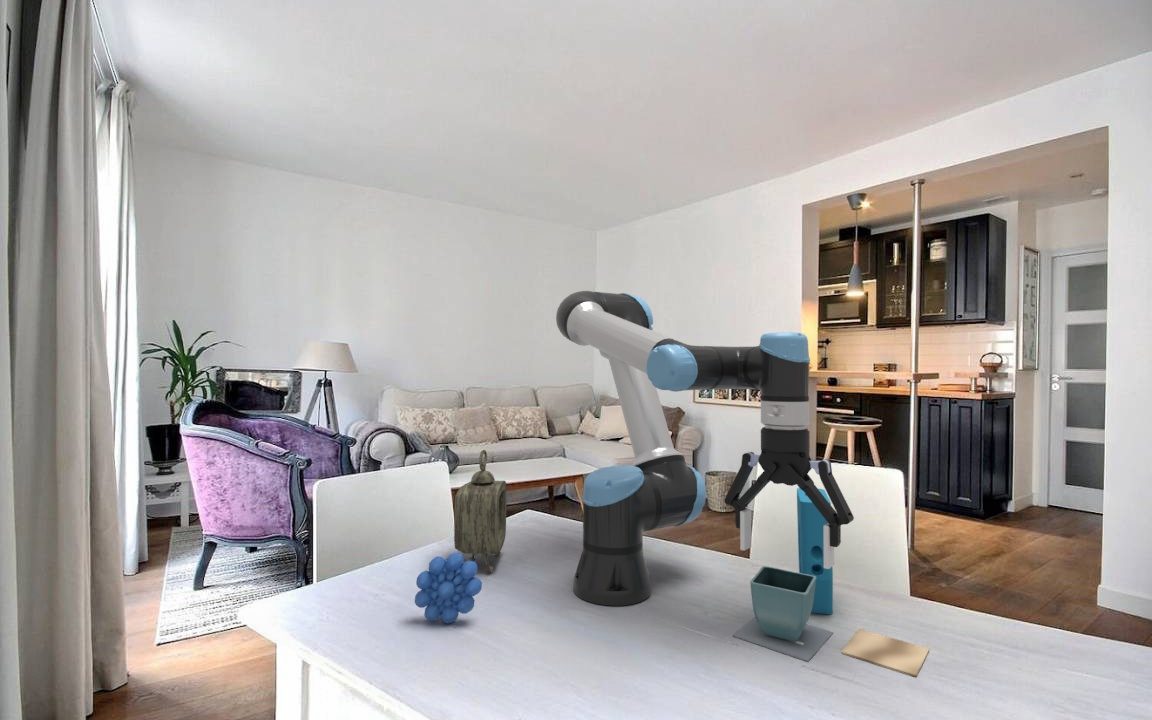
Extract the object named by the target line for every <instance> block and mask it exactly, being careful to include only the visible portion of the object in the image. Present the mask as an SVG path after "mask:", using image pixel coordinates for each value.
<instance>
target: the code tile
mask: <svg viewBox="0 0 1152 720" xmlns="http://www.w3.org/2000/svg"><path fill="white" fill-rule="evenodd" d="M832 635H834V632H833V631H831V630H827V629H825V628H821V627H818V626H814V625H811V624H807V623H806V625H805V627H804V629H803V631H802V634H801V636H800V637H799V639H798V640H797V641H796V642H793V641H789V640H785V639H781V638H778V637H774V636H770V635H766V634H764V632H763V631H762V629H761V628H760V626H759V624H758V622H757V620H756V617H755V616H754V617H753V618H752V619H751V620H750V621H748V622H747V623H746V624H745V625H744V626H742V627H741V628H740V629H738V630H737V631H736V632H735V633H734V634H732V638H733V637H734V638H736V639H738V640H742V641H746V642H748V643H752V644H754V645H758V646H761V647H762V648H764V649H765V648H766V649H768V650H772V651H775V652H778V653H781V654H783V655H787V656H788V657H789V656H790V657H793V658H794V659H799V660H801V661H804V662H807V663H809V662H810V661H811V659H813V657H814V656H815V655H816V654H817V653H818V651H819V650H820V649H821V648H822V647H823V646H824V645H825V643H826V642H827V641H828V640H829V639H830V638H831V636H832Z"/></svg>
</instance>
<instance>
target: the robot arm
mask: <svg viewBox="0 0 1152 720" xmlns="http://www.w3.org/2000/svg"><path fill="white" fill-rule="evenodd" d="M555 319H556V320H555V321H556V326H557V328H558V330H559V332H560V333H561V335H562V336H563V337H565V339H567V340H568V341H571V342H572V343H574V344H577V345H578V346H582V347H583V346H591V347H593V348H595V349H597V350H599V351H598V352H599V355H600V356H601V357H603V358H605V359H607V360H608V363H609V366H610V370H611V373H612V377H613V380H614V381H613V382H614V385H615V388H616V392H617V396H618V401H619V403H620V406H621V411H622V415H623V418H624V422H625V426H626V429H627V433H628V438H629V441H630V444H631V448H632V452H633V456H634V461H633V463H632V465H626V464H625V465H623V464H622V465H618V466H616V465H609V466H605V467H601V468H598V469H595V470H593V471H591V472H590V473H588V474H587V476H586V477H585V479H584V482H583V491H582V496H581V497H582V498H581V499H582V503H583V504H582V507H583V508H582V510H583V511H582V513H583V514H582V535H583V536H582V551H581V555H580V558H579V560H578V561H579V562H578V564H577V567H576V569H575V570H576V571H575V574H574V576H573V591H574V593H575V595H577V596H578V597H579V598H581V599H582V600H584V601H586V602H590V603H593V604H598V605H603V606H616V607H617V606H628V605H629V606H630V605H634V604H638V603H640V602H643V601H645V600H647V599H649V597H651V595H652V578H651V577H652V576H651V575H650V573H649V569H648V565H647V561H646V558H645V556H644V555H645V554H644V550H643V546H644V544H643V543H644V542H643V541H644V539H643V538H644V537H643V535H644V532H650V531H655V530H659V529H660V530H661V529H663V528H664V529H665V528H670V527H680V526H683V525H684V524H689V523H692V522H693V521H695V520H696V519H697V518H699V516H700V515H701V514H702V512H703V509H704V508H703V507H704V506H705V504H706V500H707V499H706V498H707V493H706V492H707V491H706V490H707V489H706V485H705V481H704V477H702V475H701V473H700V472H699V471H697V469H696V468H694V467H692V466H689V465H687V461H686V459H685V455H684V454H683V453H682V452H680V451H678V450H677V449H675V447H674V443H673V440H672V437H671V434H670V430H669V428H668V425H667V424H668V423H667V421H666V416H665V413H664V411H663V407H662V404H661V400H660V396H659V394H658V390H659V391H660V390H661V391H670V392H677V393H678V392H682V391H697V390H698V391H703V390H706V391H707V390H759V391H760V393H759V395H760V424H762V425H763V427H762V428H761V429H760V451H761V452H760V455H759V454H755V453H754V452H753V451H748V452H744V453H743V454H742V455H741V456H742V457H741V464H740V468H739V469H738V472H737V474H736V476H735V478H734V480H733V481H732V484H731V486H730V488H729V490H728V491H727V494H726V496H725V497H724V500H723V501H724V503H725V504H726V505H727V506H731V507H732V508H734V511H735V515H734V517H735V521H734V522H735V524H734V525H735V527H736V529H739V530H740V531H739V532H740V533H739V538H740V545H739V547H740V549H739V550H740V551H744V552H745V551H747V550H748V549H751V547H752V509H751V508H747V507H748V505H749V504H750V503H751V502H752V501H753V500H754V499H755V498H756V496H758V495H759V493H760V492H761V491H762V490H764V488H765V487H766V486H767V485H768V484H769V483H770V482H772V483H773V484H777V485H780V484H783V485H786V486H790V487H791V486H792V487H793V486H796V485H797V488H800V489H801V490H803V491H804V492H805V494H806V495H807V496H808V498H809V499H810V500H811V501H812V503H813V504H814V505H815V507H816V508H817V509H818V510H819V512H820V513H821V514H822V516H823V517H824V518H825V520H826V521H827V522H828V523H827V524H825V525H824V526H823V533H824V568H825V569H830V568H831V567H832V568H833V567H834V565H835V548H837V547H839V546H840V545H841V541H842V540H841V539H842V538H841V535H842V534H841V532H842V531H841V527H842V525H848V524H850V523H851V522H852V521H854V519H855V518H854V517H855V516H854V514H853V513H852V510H851V509H850V506H849V505H848V502H847V500H846V499H845V496H844V494H843V493H842V490H841V489H840V487H839V485H838V482H837V480H836V479H835V477H834V476H835V475H834V474H833V469H832V468H833V467H832V463H831V460H830V459H822V460H812V459H811V456H810V430H809V429H808V428H806V427H808V426H809V425H810V397H809V396H810V395H809V384H810V383H809V381H810V379H809V377H810V362H811V358H810V356H809V355H810V354H809V351H810V350H809V340H808V337H807V335H806V334H805V333H802V332H794V331H793V332H783V331H782V332H768V333H763V334H762V335H761V336H760V339H759V340H760V341H759V344H758V345H757V346H721V345H720V346H719V345H718V346H715V345H714V346H713V345H712V346H711V345H690V344H687V343H684V342H681V341H678V340H676V339H674V338H672V337H669V336H668V335H664V334H662V333H659V332H656V331H654V330H653V327H652V325H653V324H654V317H653V313H652V311H651V308H650V306H649V305H648V303H647V302H646V301H645V300H644V299H642V297H639V296H637V295H632V294H628V293H625V292H622V293H613V292H611V293H610V292H601V291H592V290H579V291H576V292H573V293H571V294H569V295H568V296H566V297H565V298H564V299H563V300H562V301H561V302H560V304H559V306H558V307H557V311H556V315H555ZM657 389H658V390H657ZM758 464H759V466H760V468H762V470H763V472H762V473H761V474H759V476H758V477H757V478H756V480H755V481H754V482H753V484H752V485H751V486H750V487H749V488H748V489H747V490H746V491H745V492H744V493H743V494H742V491H743V490H744V487H745V485H746V483H747V481H748V479H749V477H750V475H751V473H752V471H753V469H754V467H756V466H757V465H758ZM812 469H813V470H814V472H815V473H816V475H819V478H820V480H821V483H822V485H823V487H824V490H825V492H826V494H827V496H828V498H829V500H830V502H831V505H830V504H829V502H828V501H827V500H826V499H825V497H824V496H823V495H822V493H821V492H820V491H819V490H818V489H819V488H818V487H817V485H816V484H815V482H814V480H813V479H812V478H811V477H810V475H809V474H808V473H809V472H810V471H811V470H812ZM741 494H742V495H741ZM739 497H740V498H739Z"/></svg>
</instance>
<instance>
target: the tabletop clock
mask: <svg viewBox="0 0 1152 720" xmlns="http://www.w3.org/2000/svg"><path fill="white" fill-rule="evenodd" d="M483 456H484V461H483V462H482V460H483ZM487 459H488V454H487V451H486V449H483V450H481V452H480V454H479V460H478V461H479V470H478V471H476V472H475V473H474V474H473V475H472V476H471V479H470V481H469V482H467V483H465V484H463V485H462V486H460V487H459V488H458V490H457V492H456V494H455V497H454V511H453V512H454V515H453V517H454V520H453V523H454V524H453V528H454V529H453V532H454V533H453V534H454V537H453V538H454V539H453V540H454V541H453V543H454V549H455V550H457V551H458V552H459V553H462V554H463V555H471V557H469V558H468V559H467V561H474V562H475V563H477V562H476V558H475V556H476V555H481V556H482V557H483V560H484V561H485V563H486V564H485V565H486V567H485V572H486V573H487V574H491V573H493V571H494V567H493V565H490V561H489V557H488V555H494V556H496V557H498V556H500V555H501V553H502V552H501V551H502V549H503V546H504V543H505V540H506V535H507V534H506V533H507V531H506V530H507V482H506V480H496V479H495V477H494V475H493V473H492V472H490V471H488V470H487V469H486V466H487V462H488V461H487Z"/></svg>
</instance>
